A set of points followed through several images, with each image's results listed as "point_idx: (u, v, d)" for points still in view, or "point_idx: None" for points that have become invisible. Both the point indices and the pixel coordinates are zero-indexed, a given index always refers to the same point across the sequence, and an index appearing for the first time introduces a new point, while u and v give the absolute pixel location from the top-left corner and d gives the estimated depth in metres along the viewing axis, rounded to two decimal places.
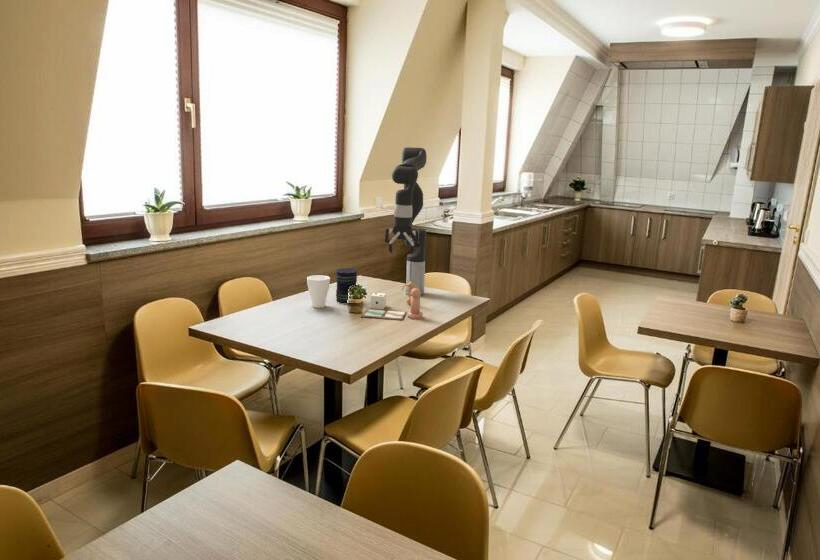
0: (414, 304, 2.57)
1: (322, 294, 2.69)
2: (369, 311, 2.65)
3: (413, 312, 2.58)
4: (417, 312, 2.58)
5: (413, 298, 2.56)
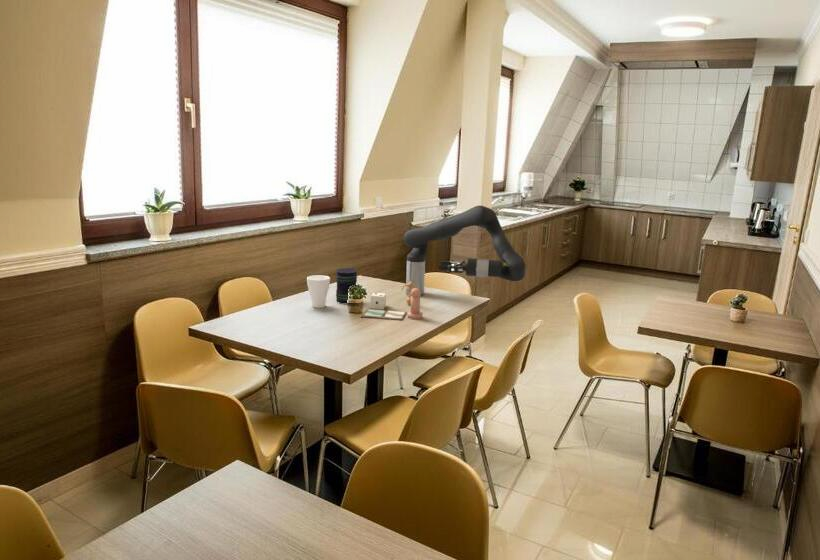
0: (414, 304, 2.57)
1: (322, 294, 2.69)
2: (369, 311, 2.65)
3: (413, 312, 2.58)
4: (417, 312, 2.58)
5: (413, 298, 2.56)
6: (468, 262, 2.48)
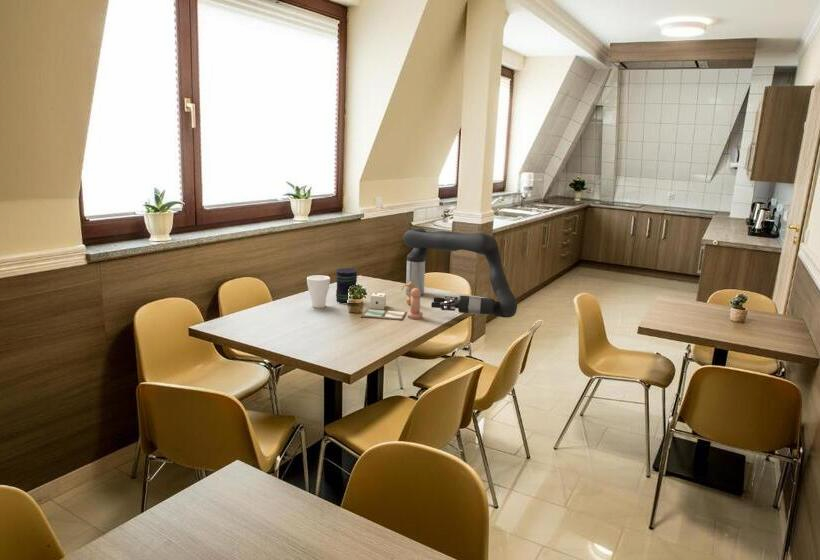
0: (414, 304, 2.57)
1: (322, 294, 2.69)
2: (369, 311, 2.65)
3: (413, 312, 2.58)
4: (417, 312, 2.58)
5: (413, 298, 2.56)
6: (460, 300, 2.52)
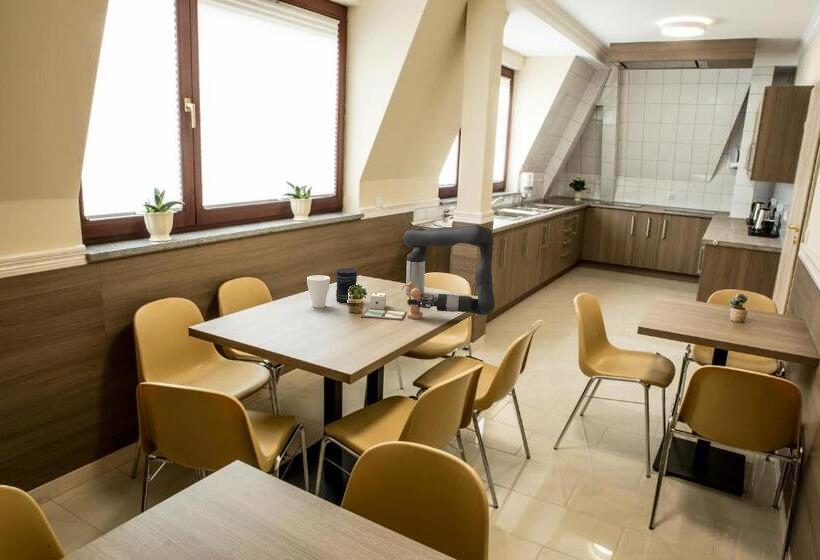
0: None
1: (322, 294, 2.69)
2: (369, 311, 2.65)
3: (413, 312, 2.58)
4: (417, 312, 2.58)
5: (413, 298, 2.56)
6: (438, 298, 2.54)
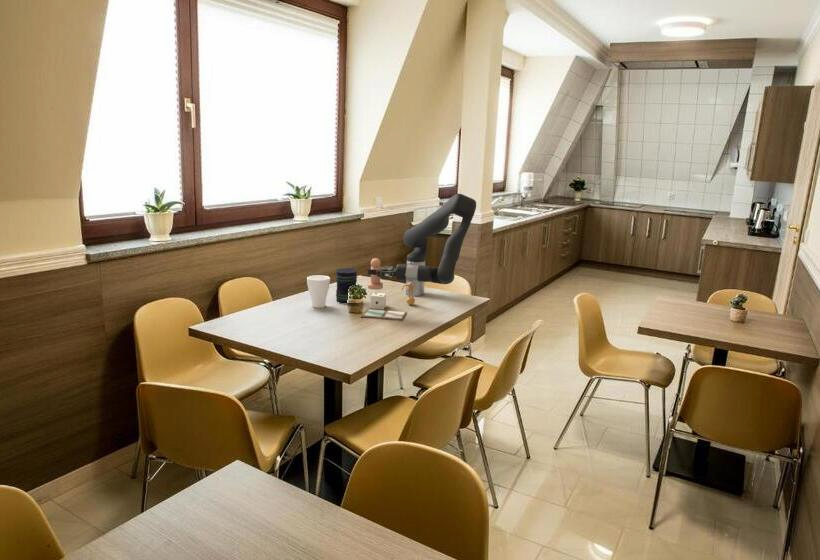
0: None
1: (322, 294, 2.69)
2: (369, 311, 2.65)
3: (373, 282, 2.57)
4: (377, 282, 2.58)
5: (373, 268, 2.56)
6: (398, 267, 2.53)
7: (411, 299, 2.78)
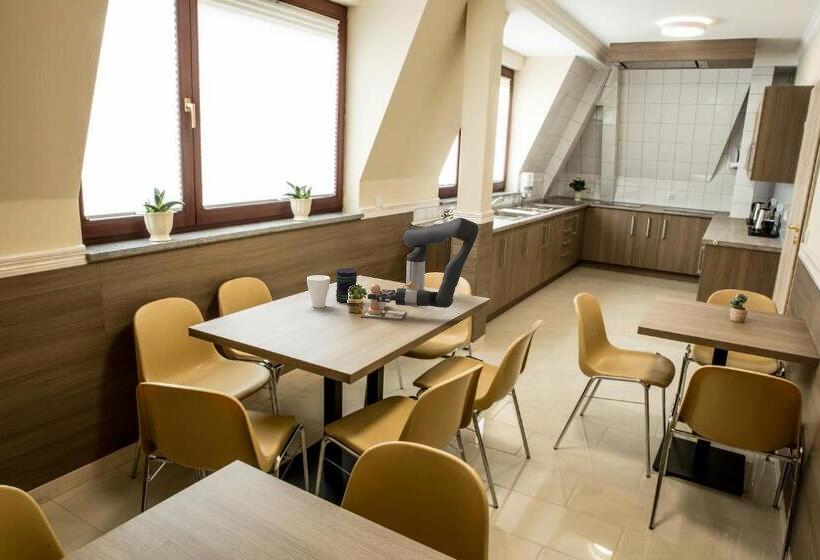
0: None
1: (322, 294, 2.69)
2: None
3: (373, 308, 2.60)
4: (377, 308, 2.60)
5: None
6: (397, 292, 2.56)
7: None
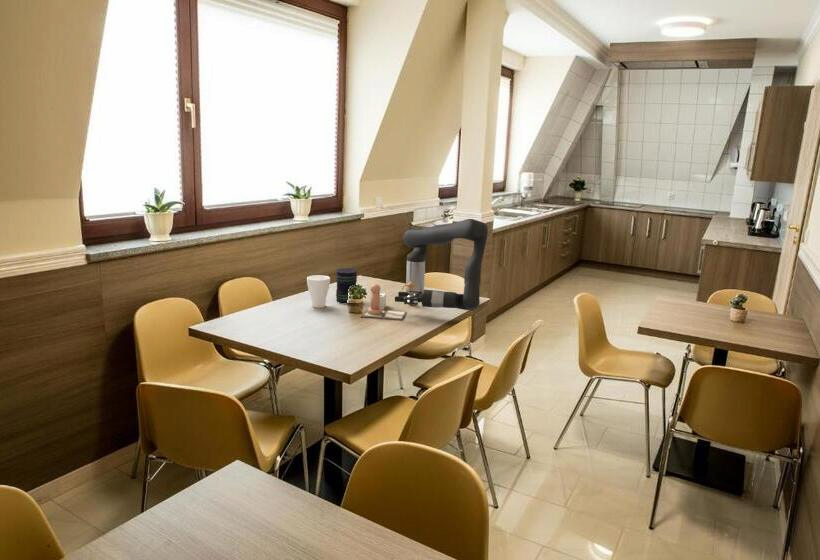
0: (373, 300, 2.59)
1: (322, 294, 2.69)
2: None
3: (373, 308, 2.60)
4: (377, 308, 2.60)
5: (373, 294, 2.59)
6: (424, 294, 2.54)
7: None
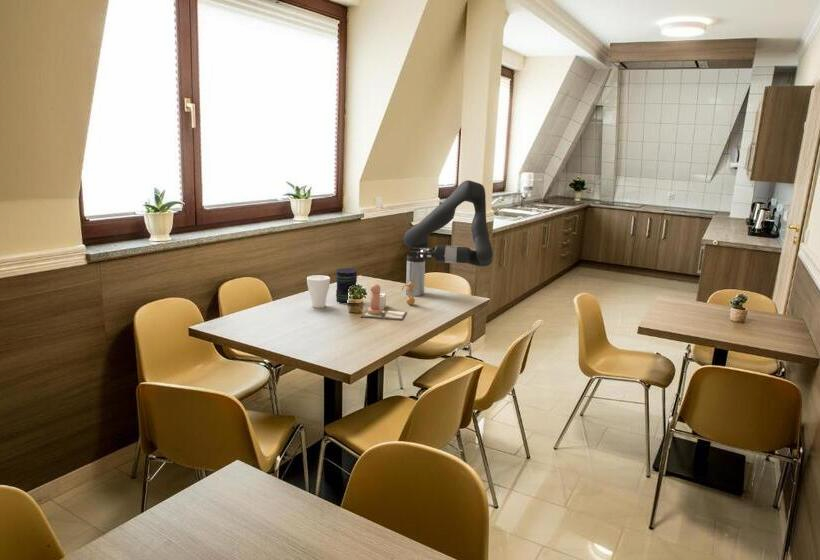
0: (373, 300, 2.59)
1: (322, 294, 2.69)
2: None
3: (373, 308, 2.60)
4: (377, 308, 2.60)
5: (373, 294, 2.59)
6: (437, 248, 2.54)
7: (411, 299, 2.78)
